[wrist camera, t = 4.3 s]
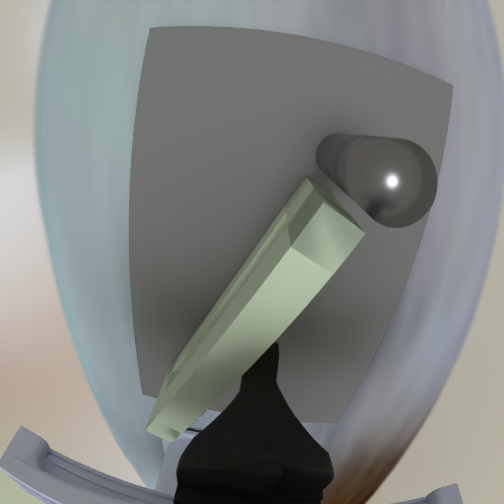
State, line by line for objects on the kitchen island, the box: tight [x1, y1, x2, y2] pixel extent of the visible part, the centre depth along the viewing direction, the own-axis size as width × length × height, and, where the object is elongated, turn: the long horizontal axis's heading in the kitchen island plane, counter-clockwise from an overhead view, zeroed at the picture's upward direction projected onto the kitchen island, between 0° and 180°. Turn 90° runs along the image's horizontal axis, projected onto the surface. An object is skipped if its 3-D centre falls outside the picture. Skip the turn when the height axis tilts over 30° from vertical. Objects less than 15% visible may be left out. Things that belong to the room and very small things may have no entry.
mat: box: [129, 26, 453, 423], centre depth 14 cm, size 22×14×1 cm, turn 172°
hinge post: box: [316, 134, 437, 228], centre depth 9 cm, size 2×2×7 cm
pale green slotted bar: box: [145, 176, 366, 443], centre depth 12 cm, size 14×2×5 cm, turn 148°
